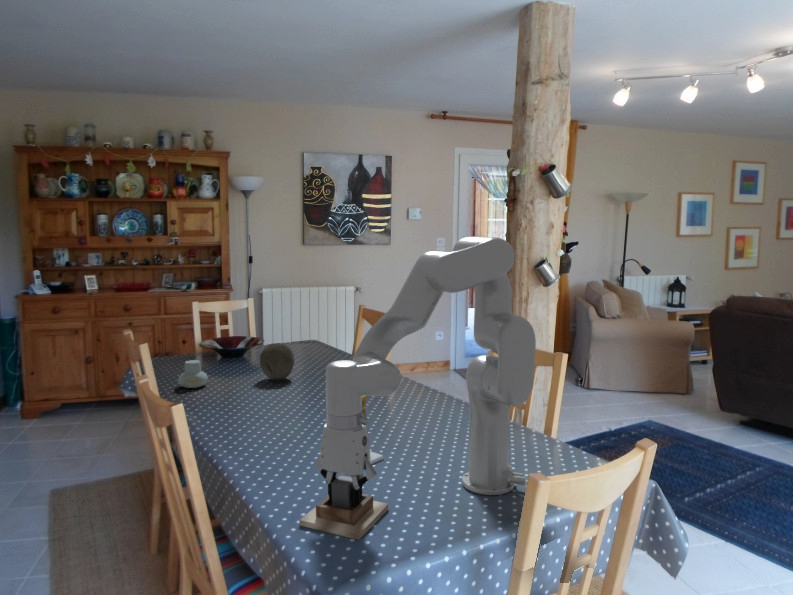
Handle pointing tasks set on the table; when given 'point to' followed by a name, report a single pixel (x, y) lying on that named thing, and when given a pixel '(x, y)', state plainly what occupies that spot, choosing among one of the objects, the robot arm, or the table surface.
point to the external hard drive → (375, 457)
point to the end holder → (345, 517)
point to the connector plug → (342, 493)
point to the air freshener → (192, 375)
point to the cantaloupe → (277, 361)
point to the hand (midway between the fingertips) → (345, 501)
